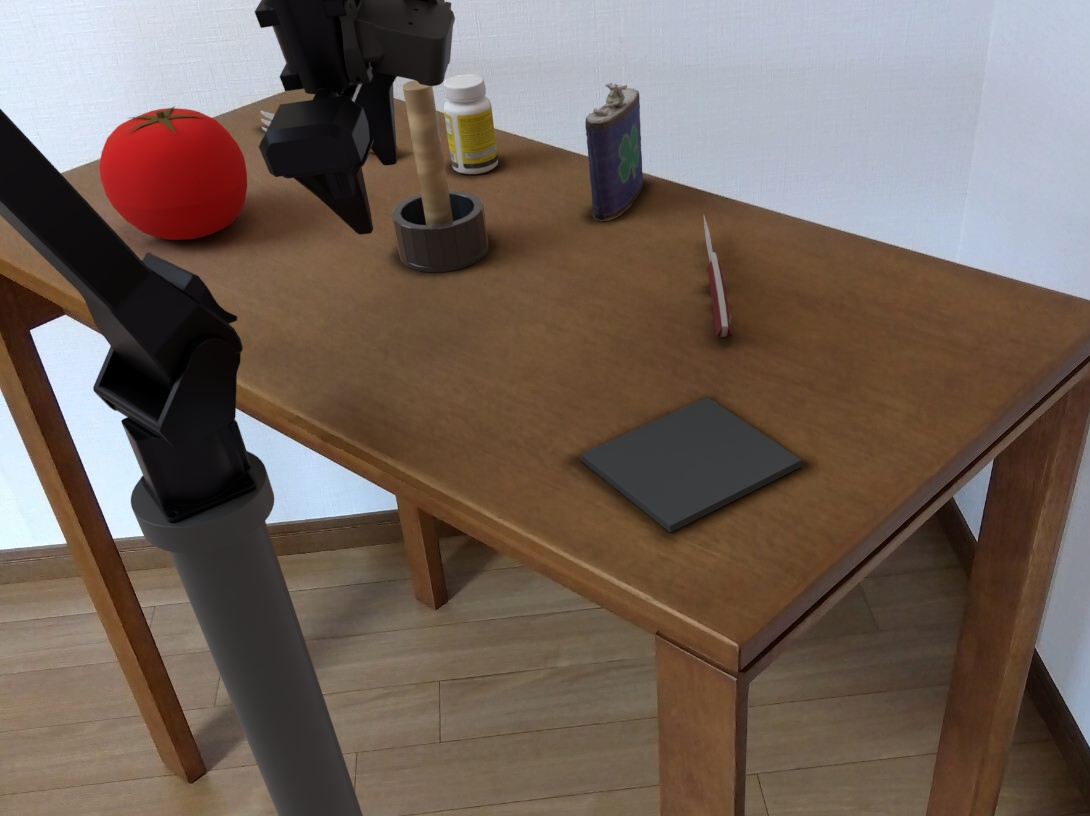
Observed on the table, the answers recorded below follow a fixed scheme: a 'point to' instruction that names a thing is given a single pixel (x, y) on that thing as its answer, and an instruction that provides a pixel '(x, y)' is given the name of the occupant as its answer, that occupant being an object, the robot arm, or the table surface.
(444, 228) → the cup
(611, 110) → the flask
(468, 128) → the supplement bottle
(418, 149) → the muddler
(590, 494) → the table surface
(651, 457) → the mat
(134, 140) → the tomato
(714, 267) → the knife
